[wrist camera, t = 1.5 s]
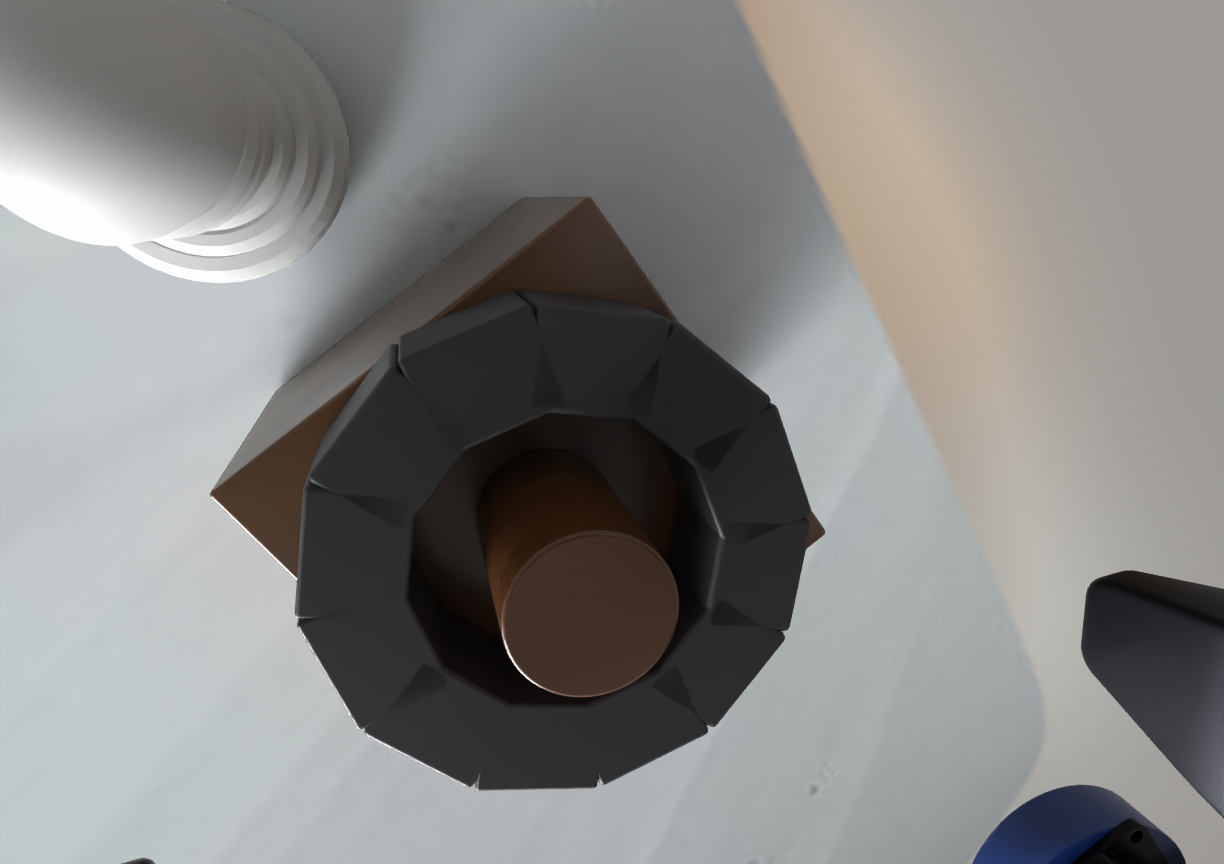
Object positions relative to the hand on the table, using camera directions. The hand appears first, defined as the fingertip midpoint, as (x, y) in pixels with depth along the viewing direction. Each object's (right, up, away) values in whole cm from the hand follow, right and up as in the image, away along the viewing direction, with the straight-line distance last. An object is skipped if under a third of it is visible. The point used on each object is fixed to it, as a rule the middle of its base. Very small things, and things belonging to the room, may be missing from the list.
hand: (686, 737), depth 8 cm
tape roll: (-2, +1, +6) cm, 6 cm away
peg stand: (-3, +3, +12) cm, 13 cm away
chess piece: (-9, +9, +10) cm, 16 cm away
